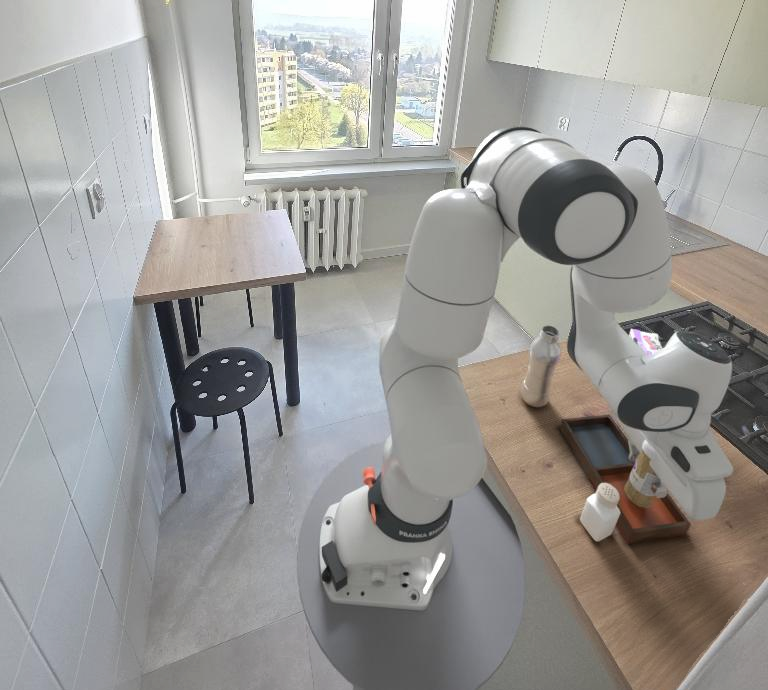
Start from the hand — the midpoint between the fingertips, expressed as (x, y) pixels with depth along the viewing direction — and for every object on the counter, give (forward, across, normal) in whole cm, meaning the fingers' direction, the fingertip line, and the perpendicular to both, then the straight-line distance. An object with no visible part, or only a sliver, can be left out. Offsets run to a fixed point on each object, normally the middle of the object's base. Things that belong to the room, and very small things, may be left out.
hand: (645, 477), depth 73 cm
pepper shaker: (+8, +3, -9) cm, 12 cm away
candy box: (+8, -20, +15) cm, 26 cm away
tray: (+8, -5, 0) cm, 9 cm away
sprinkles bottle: (+5, 0, 0) cm, 5 cm away
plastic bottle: (+8, -24, -7) cm, 27 cm away
